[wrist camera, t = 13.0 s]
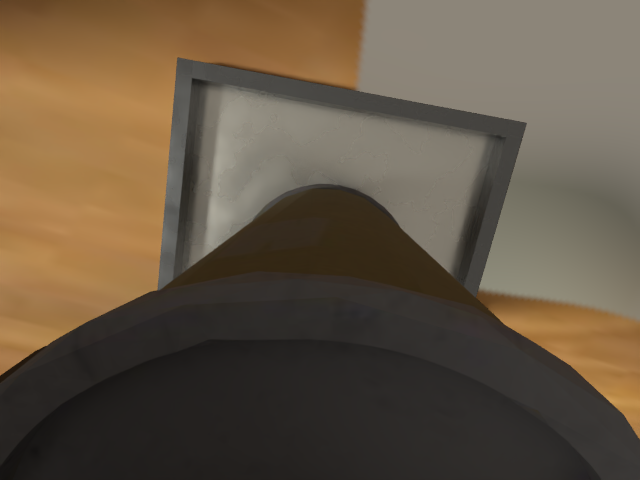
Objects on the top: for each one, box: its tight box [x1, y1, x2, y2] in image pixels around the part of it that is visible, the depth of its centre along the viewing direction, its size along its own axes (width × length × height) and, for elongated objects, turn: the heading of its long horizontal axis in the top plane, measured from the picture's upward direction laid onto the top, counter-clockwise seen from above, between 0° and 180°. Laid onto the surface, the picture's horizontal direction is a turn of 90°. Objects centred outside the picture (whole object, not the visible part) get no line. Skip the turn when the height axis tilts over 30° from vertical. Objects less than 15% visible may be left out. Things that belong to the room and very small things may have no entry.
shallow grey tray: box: [158, 58, 526, 298], centre depth 25 cm, size 22×22×2 cm
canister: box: [0, 184, 640, 480], centre depth 12 cm, size 11×10×20 cm
